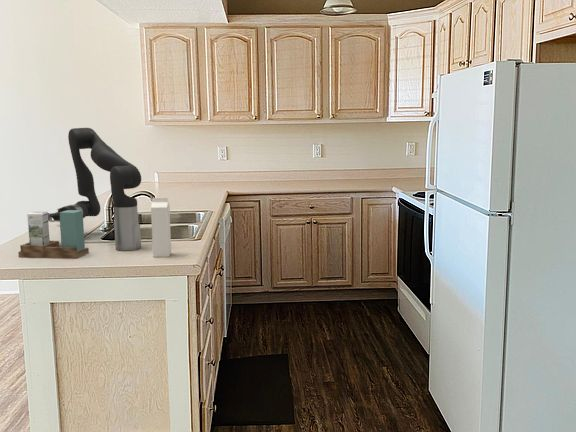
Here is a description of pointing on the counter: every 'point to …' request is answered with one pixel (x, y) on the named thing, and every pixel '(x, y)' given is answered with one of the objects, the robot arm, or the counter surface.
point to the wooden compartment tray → (50, 251)
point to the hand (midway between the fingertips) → (50, 220)
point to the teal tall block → (72, 229)
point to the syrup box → (38, 228)
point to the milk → (161, 227)
